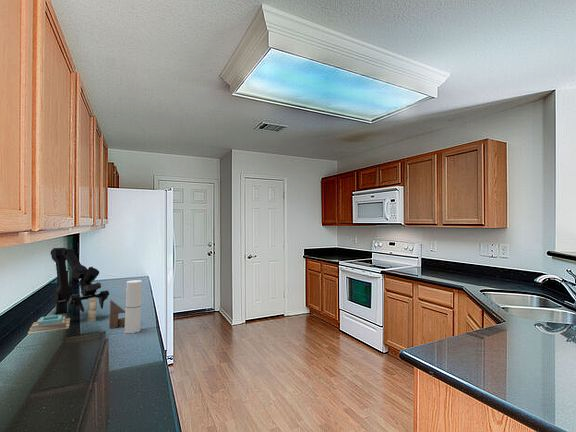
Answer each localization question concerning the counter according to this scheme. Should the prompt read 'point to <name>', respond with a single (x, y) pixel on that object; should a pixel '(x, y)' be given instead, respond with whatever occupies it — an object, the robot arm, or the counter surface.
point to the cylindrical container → (133, 306)
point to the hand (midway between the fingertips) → (93, 310)
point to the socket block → (50, 320)
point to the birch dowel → (92, 308)
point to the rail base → (49, 326)
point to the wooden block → (116, 315)
